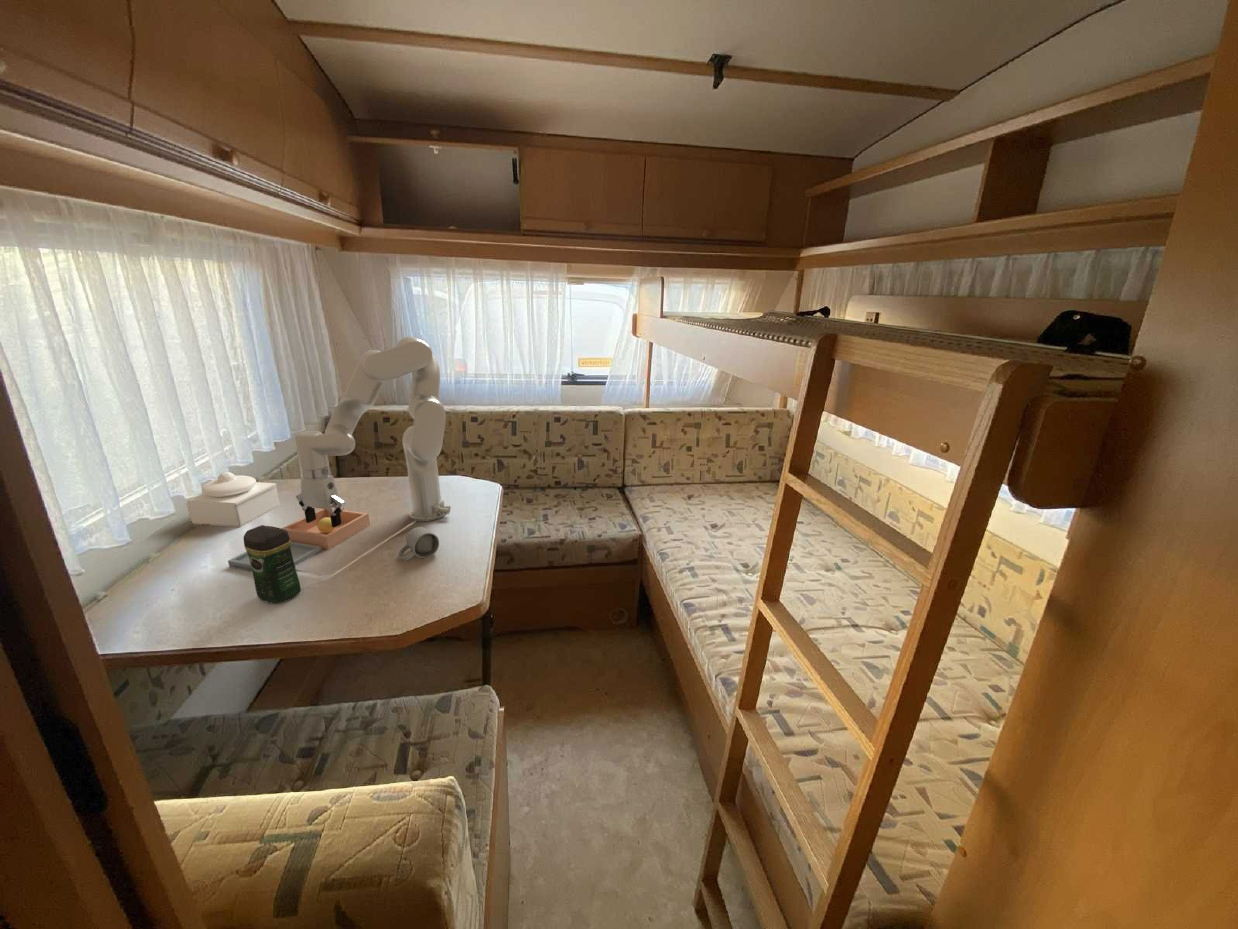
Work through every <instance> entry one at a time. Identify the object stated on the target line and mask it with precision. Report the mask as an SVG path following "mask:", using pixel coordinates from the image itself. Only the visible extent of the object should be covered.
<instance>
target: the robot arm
mask: <svg viewBox="0 0 1238 929" xmlns="http://www.w3.org/2000/svg"><path fill="white" fill-rule="evenodd" d="M410 373H411V386H410V387H411V388H410V395H409V402H408V406H407V407H408V413H409V415H410V417H411V419H413V425H411V426H409V427H407V428H406V429H405V430H404V432H403V434H402V446H403V447H402V448H403V452H404V457H405V461H406V467H407V477H408V484H409V492H410V500H411V507H412V508H411V509H410V510H409V511H408V517H410V518H411V519H414V520H413V521H414V522H429V521H434V520H438V519H441V518H442V517H444V516H445V515H449V514H450V512H451V508H452V506H450V505H445V500H442V498H441V497H442V496H441V488H440V476H439V470H438V469H439V468H438V461H437V457H438V456H439V455H440V453H441V452H442V447H443V444H444V443H443V442H444V437H445V430H446V429H445V428H446V421H447V420H446V419H447V417H446V416H447V415H446V410H445V406H444V405H443V403H442V402H441V401H440V400H439V397H440V396H439V395H440V382H441V374H440V367H439V364H438V361H437V359H436V357H435V355H434V354H433V350H432V348H431V345H429V344H428V343H427V342H426V341H424V340H423V339H420V338H418V337H415V336H404V337H402V338H401V339H400V340H398V342H397V346H394V347H390V348H388V349H386V350H382V351H381V350H378V349H369V350H367V351H365V352H364V353H363V354H362V355H361V357H360V359H359V361H358V363H357V365H356V368H355V370H354V372H353V374H352V376H351V379H350V381H349V383H348V385H347V387H346V389H345V390H344V393H343V395H342V396H341V398H340V401H339V402H338V404H337V405H336V407H335V409H334V410H333V412H332V415H331V416H330V419H329V421H328V423H327V425H326V428H325V430H324V433H323V432H321V431H320V430H306V431H301V432H298V433H297V434H296V435H295V438H294V440H295V441H294V442H295V447H296V452H297V458H298V464H299V470H300V475H301V476H300V492H301V493H299V494H297V495H295V498H296V499H297V502H298V504H299V506H300V507H301V509H302V511H303V512H304V517H306V522H307V523H310V522H312V521H314V520H316V514H315V512H316V510H315V509H316V508H317V509H319V510H320V509H328V511H329V512H330V513H331V514H332V515H331V516H330V517H331V524H332V527H334V528H335V527H337V526H338V525H340V524H341V516H340V513H341V512H342V510H345V509H344V508H345V504H346V502H345V501H344V500H343V499H341V498H340V496H339V491H338V487H337V484H336V480H335V478H334V475H332V470H330V469H331V468H330V463H329V456H337V457H338V456H346V455H349V454H351V453H352V452H353V451H354V450H355V447H356V440H355V438H354V436H353V433H354V432H355V429H356V426H357V424H358V422H359V420H360V419H361V418H362V415H364V414H365V413H366V412H367V411H368V410H370V409H371V408H373V406H374V405H375V402H376V401H377V399H378V396H379V394H380V392H381V390H382V388H383V385H384V384H385V382H389V381H391V380H394V379H397V378H400V377H403V376H405V375H408V374H410ZM332 508H335V511H334V510H333V509H332Z"/></svg>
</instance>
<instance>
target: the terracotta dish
mask: <svg viewBox="0 0 1238 929" xmlns="http://www.w3.org/2000/svg"><path fill="white" fill-rule="evenodd" d="M332 509H333V510H334V511H335V508H334V507H333V508H332ZM315 514H316V520H314V521H312V522H310V523H307V522H306V517H305V516H304V517H302V518H300V519H298V520H296V521H294V522H292V523H289V524H287V525H285V526H283V527H281V529H285V530H287V532H288V535H289V538H290V541H291V542H297V543H303V544H309V545H314V546H320V547H321V548H322V549H327V550H330V549H331V548H333V547H335V546H337V545H338V544H340V543H342V542H344V541H345V540H346V539H349V538H350V537H352V536H353V535H355V534H357V533H359V532H360V531H362V530H364V529H365V528H368V526H370V525H371V523H370V517H369V513H366V512H359V511H354V510H346V509H343V510H342V512H341V513H340V516H341V524H340V525H338V526H337V527H335V529H334V530H333V531H332V532H330V533H322V532H320V531H319V530H318V527H317V525H318V522H319V521H320V520H321V519H322V518H325V517H329V518H331V517H330V516H331V515H332V514H331V513H330V512H329V511H328V509H320V508H319V509H318V510H317V511H316V510H315Z"/></svg>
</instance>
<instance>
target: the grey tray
mask: <svg viewBox="0 0 1238 929" xmlns="http://www.w3.org/2000/svg"><path fill="white" fill-rule="evenodd" d="M290 546H291V553H292V557H293V561H294V565H295V566H297V565H298V564H300V563H303V561H306V560H307V559H309V558H311V557H312V556H314V555H316V554H317V553H319V552H321V551H323V550H322V549H323V548H321V547H320V546H314V545H309V544H303V543H297V542H291V544H290ZM227 563H228V567H229V568H232V569H238V570H243V571H247V572H252V568H251V563H250V559H249V556H248V554H247V551H246V550H245V552H242V553H241V554H238V555H237V556H234V557H233V558H230V559H228V560H227Z"/></svg>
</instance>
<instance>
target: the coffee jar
mask: <svg viewBox="0 0 1238 929" xmlns="http://www.w3.org/2000/svg"><path fill="white" fill-rule="evenodd" d="M281 528H282V527H281ZM281 528H280V527H276V526H273V525H272V526H271V525H265V524H262V525H258V526H256V527H252V528H251V529H248V530H246V531H245V533H244V535H243V544H244V545H243V546H244V549H245V552H246V551H247V554H248V556H249V559H250V563H251V568H252V571H251V573H252V576H253V582H254V587H255V591H256V592H255V593H256V595H257V598H258V599H260V600H261V601H264V602H266V603H269V604H280V603H282V602H287V601H290V600H291V599H293V598H295V597H296V596H297V595H298V594H300V592H301V590H302V587H301V584H300V579H299V576H298V573H297V569H296V565H294V561H293V557H292V553H291V546H290V544H291V541H290V538H289V535H288V532H287V530H285V529H281Z"/></svg>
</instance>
